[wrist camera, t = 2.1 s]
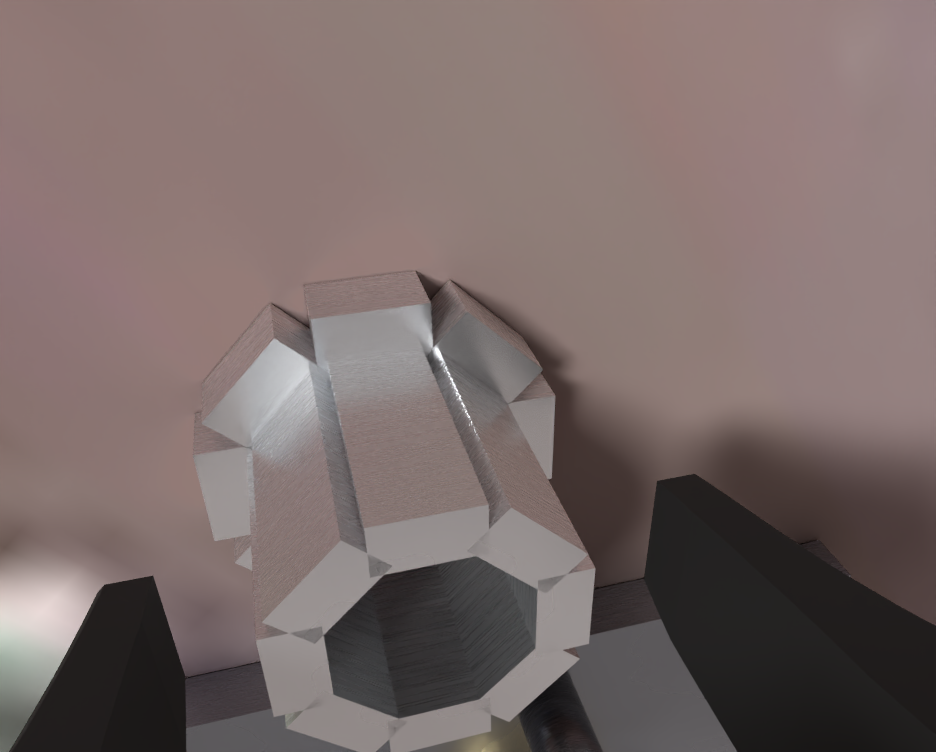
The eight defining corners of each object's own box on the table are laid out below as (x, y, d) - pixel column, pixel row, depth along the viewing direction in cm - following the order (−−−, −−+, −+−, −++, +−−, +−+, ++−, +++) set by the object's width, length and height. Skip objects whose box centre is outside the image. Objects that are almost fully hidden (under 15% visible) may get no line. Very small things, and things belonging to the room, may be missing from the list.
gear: (234, 578, 16) (240, 827, 12) (167, 302, 13) (143, 512, 8) (529, 520, 17) (628, 728, 13) (535, 255, 14) (670, 418, 10)
